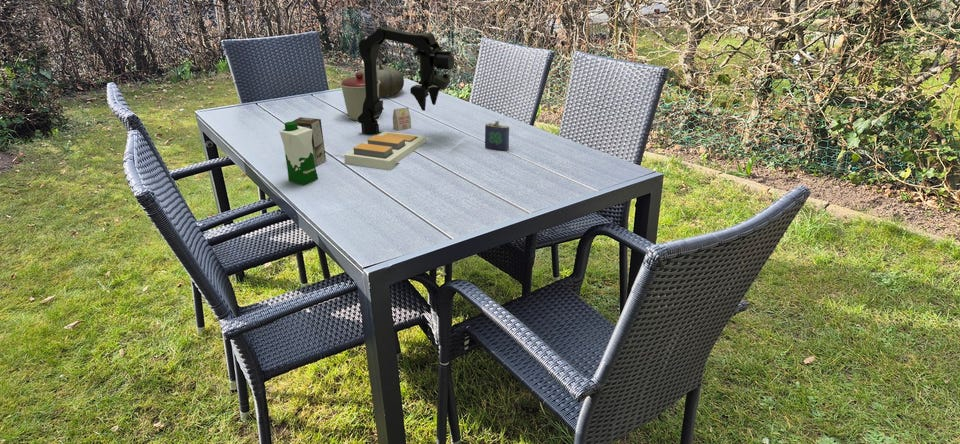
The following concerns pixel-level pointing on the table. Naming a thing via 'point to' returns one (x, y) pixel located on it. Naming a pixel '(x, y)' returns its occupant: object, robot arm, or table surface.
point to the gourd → (388, 80)
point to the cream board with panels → (389, 161)
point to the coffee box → (314, 137)
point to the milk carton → (299, 153)
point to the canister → (355, 94)
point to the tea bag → (401, 119)
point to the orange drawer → (387, 141)
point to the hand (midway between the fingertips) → (428, 107)
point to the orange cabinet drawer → (401, 136)
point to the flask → (496, 137)
